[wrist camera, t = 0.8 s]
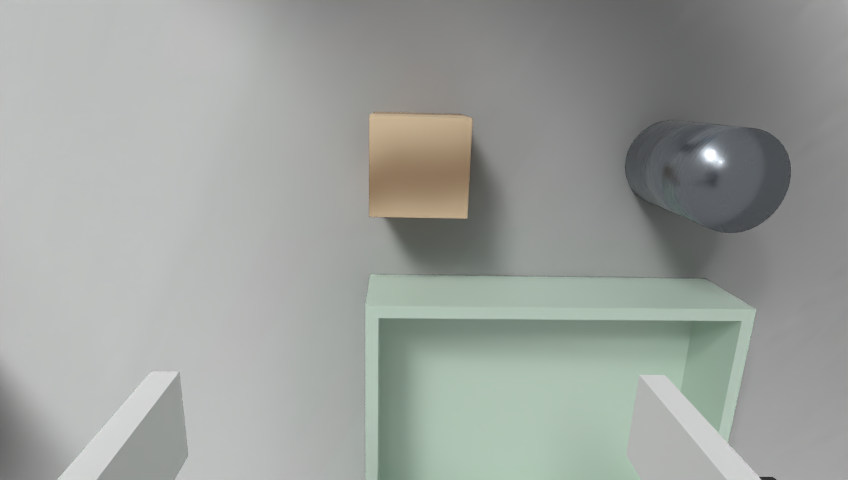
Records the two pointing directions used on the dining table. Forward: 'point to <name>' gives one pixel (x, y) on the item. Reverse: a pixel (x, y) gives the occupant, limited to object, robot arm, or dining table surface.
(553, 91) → the dining table surface
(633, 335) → the tote
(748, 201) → the grey tin
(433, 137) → the oak cube
